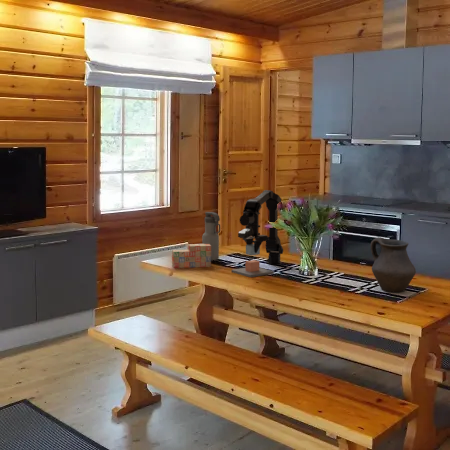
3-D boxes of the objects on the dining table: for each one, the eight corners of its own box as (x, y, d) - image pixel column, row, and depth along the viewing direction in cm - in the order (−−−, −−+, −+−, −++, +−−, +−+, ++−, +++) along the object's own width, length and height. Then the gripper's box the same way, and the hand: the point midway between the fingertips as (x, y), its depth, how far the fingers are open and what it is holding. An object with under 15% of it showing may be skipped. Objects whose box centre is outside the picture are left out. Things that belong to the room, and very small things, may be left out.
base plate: (254, 268, 356) (254, 266, 356) (273, 273, 343) (273, 271, 343) (231, 272, 346) (231, 269, 346) (250, 277, 334) (250, 275, 333)
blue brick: (254, 252, 347) (254, 243, 346) (259, 254, 343) (259, 245, 343) (245, 254, 343) (245, 245, 343) (251, 255, 340) (251, 246, 339)
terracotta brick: (253, 269, 348) (254, 260, 347) (259, 270, 345) (259, 261, 344) (245, 270, 344) (245, 261, 344) (250, 271, 341) (250, 262, 340)
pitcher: (407, 297, 294) (409, 244, 291) (361, 291, 306) (363, 239, 302) (419, 288, 311) (422, 238, 308) (376, 282, 323) (378, 234, 319)
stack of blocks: (173, 268, 356) (173, 246, 354) (172, 266, 362) (171, 244, 360) (211, 266, 360) (211, 245, 358) (209, 264, 366) (209, 243, 364)
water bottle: (222, 258, 382) (222, 212, 378) (213, 261, 374) (213, 214, 370) (208, 257, 388) (208, 211, 384) (199, 259, 379) (199, 212, 375)
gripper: (230, 222, 343) (230, 251, 346) (252, 226, 329) (252, 256, 331) (246, 221, 350) (246, 249, 352) (269, 225, 336) (268, 254, 338)
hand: (252, 252), depth 343 cm, fingers closed on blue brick, 4 cm apart
